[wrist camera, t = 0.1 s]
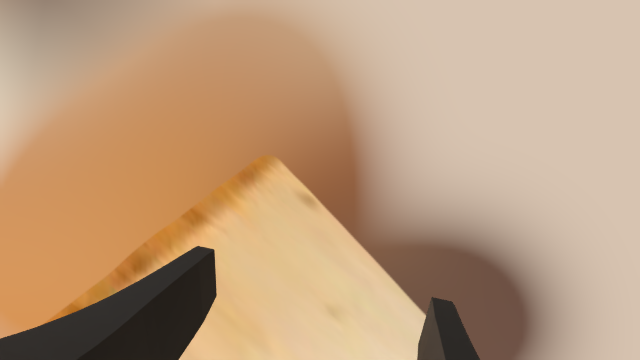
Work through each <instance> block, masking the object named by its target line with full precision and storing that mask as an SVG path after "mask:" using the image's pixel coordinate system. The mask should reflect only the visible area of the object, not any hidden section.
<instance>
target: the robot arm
mask: <svg viewBox="0 0 640 360" xmlns="http://www.w3.org/2000/svg"><path fill="white" fill-rule="evenodd" d="M216 296H217V294H216V274H215V254H214V249H209V248H205V247H200V246H197V247H195V248H193V249H192V250H190V251H188V252H186V253H185V254H183V255H182V256H180V257H178V258H177V259H175V260H173V261H172V262H170V263H168V264H167V265H165V266H163V267H162V268H160V269H158V270H157V271H155V272H153V273H152V274H150V275H148V276H147V277H145V278H143V279H141V280H139V281H138V282H136V283H134V284H132V285H130V286H128V287H126V288H125V289H123V290H121V291H119V292H117V293H115V294H113V295H111V296H109V297H107V298H105V299H103V300H101V301H99V302H97V303H95V304H93V305H90V306H88V307H86V308H84V309H81V310H79V311H77V312H74V313H72V314H69V315H67V316H64V317H62V318H59V319H56V320H54V321H51V322H48V323H46V324H43V325H41V326H38V327H35V328H33V329H30V330H26V331H23V332H20V333H17V334H14V335H11V336H7V337H4V338H1V339H0V360H179V358H180V357H181V355H182V354H183V352H184V351H185V349H186V348H187V346H188V345H189V343H190V342H191V340H192V339H193V337H194V336H195V334H196V333H197V331H198V330H199V328H200V327H201V325H202V323H203V322H204V320H205V318H206V316H207V314H208V312H209V310H210V308H211V306H212V304H213V302H214V300H215V298H216ZM417 360H480V359H479V357H478V355H477V353H476V351H475V349H474V347H473V345H472V343H471V341H470V339H469V337H468V335H467V333H466V330H465V328H464V326H463V324H462V322H461V319H460V317H459V315H458V313H457V310H456V307H455V305H454V304H453V302H451V301H447V300H442V299H437V298H433V297H432V298H431V301H430V305H429V308H428V312H427V315H426V319H425V323H424V326H423V330H422V333H421V337H420V340H419V344H418V359H417Z"/></svg>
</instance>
